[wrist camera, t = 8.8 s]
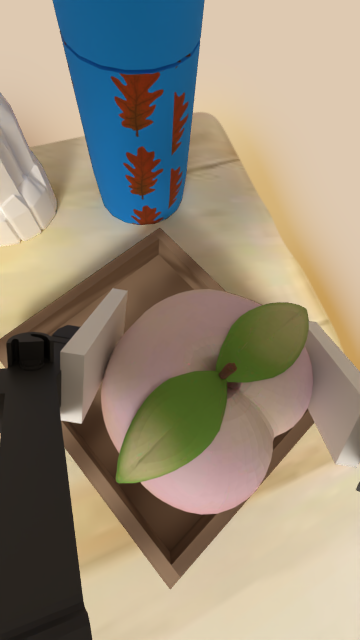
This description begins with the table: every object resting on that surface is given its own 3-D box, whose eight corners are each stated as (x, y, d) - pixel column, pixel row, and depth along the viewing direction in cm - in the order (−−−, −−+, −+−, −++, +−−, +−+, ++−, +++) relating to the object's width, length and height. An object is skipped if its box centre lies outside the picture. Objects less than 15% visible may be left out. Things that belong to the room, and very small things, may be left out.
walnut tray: (9, 357, 31) (-11, 346, 28) (159, 249, 37) (159, 227, 33) (168, 568, 26) (170, 589, 22) (315, 402, 32) (335, 397, 28)
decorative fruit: (184, 305, 21) (209, 194, 11) (286, 384, 19) (409, 331, 10) (80, 418, 18) (1, 393, 8) (193, 523, 16) (246, 631, 7)
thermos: (103, 157, 42) (36, -198, 19) (183, 162, 42) (214, -176, 19) (95, 224, 38) (-5, -122, 15) (183, 228, 38) (221, -97, 15)
